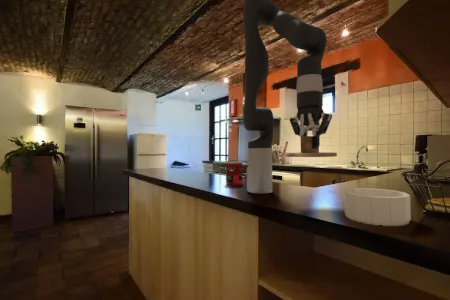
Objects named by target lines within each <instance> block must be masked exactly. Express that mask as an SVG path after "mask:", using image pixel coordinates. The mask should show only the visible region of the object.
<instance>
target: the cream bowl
mask: <svg viewBox="0 0 450 300" xmlns="http://www.w3.org/2000/svg"><path fill="white" fill-rule="evenodd" d="M343 204H344V205H343V208H344V209H343V210H344V216H346V217H345V218H346V219H348V218H349V220H351V221H352V222H353V221H354V222H356V221H357V222H358V223H360V222H361V223H362V224H366V225H371V224H372V226H379V225H382V227H403V226H406V225H409V224H410V221H412V220H411V219H412V218H411V216H412V215H411V214H412V213H411V195H410V194H408V193H407V192H404V191H399V190H394V189H384V188H367V187H363V188H361V187H360V188H357V187H356V188H348V189H344V190H343ZM361 223H360V224H361Z"/></svg>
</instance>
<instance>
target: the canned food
mask: <svg viewBox="0 0 450 300" xmlns="http://www.w3.org/2000/svg"><path fill="white" fill-rule="evenodd" d="M243 177H244V176H243V161H226V162H225V180H226V183H225V184H226V185H227V186H241V185H243V181H244V179H243Z"/></svg>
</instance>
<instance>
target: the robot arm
mask: <svg viewBox="0 0 450 300" xmlns="http://www.w3.org/2000/svg"><path fill="white" fill-rule="evenodd" d="M242 18H243V29H244V30H243V31H244V48H245V50H244V51H245V52H244V80H245V81H244V82H245V84H244V86H245V87H244V89H245V90H244V103H243V114H242V115H243V116H242V120H243V126H244V128H245V130H246V131H249V132H258V136H256V138H254V139H251V140H249V141H248V142H247V154H248V155H247V159H248V160H247V161H248V166H247V167H246V191H247V192H249V193H251V194H270V193H273V157H272V156H273V152H272V150H273V149H272V146H273V144H272V143H273V140H274V113H273V111H272V109H271V108H269V107H257V98H258V97H257V96H258V94H259V92H260V90H261V88H262V86H263V85H264V83H265V82H266V80H267V78H268V76H269V71H270V68H269V67H270V66H269V64H270V63H269V62H270V59H269V52H268V50H267V48H266V45H265V43H264V41H263V39H262V37H261V35H260V32H259V25H260V26H268V27H272V28H273V30H274V32H275V33H276V34H277V35H279V36H280V37H282V38H283V39H285V40H286V41H287V42H288V43H289V44H290V45H291V46H292V47H294V48H296V49H297V50H301V51H304V52H305V51H306V56H303V57H300V58H299V59H298V60H297V65H296V72H297V73H296V76H297V78H296V108H297V113H296V115H295V116H293V117H290V118H289V122H290V125H291V128H292V129H293V133H294V135H295V136H299V137H300V139H301V137H302V136H308V133H309V130H310V129H311V133H312V135H311V136H312V148H313V149H318V147H320V145H321V144H320V143H321V141H320V136H321V135H326V133H327V131H328V129H329V125H330V123H331V121H332V119H333V114H330V113H326V112H324V110H323V106H324V104H323V103H324V102H323V101H324V98H323V97H324V92H323V89H324V88H323V87H324V86H323V79H322V61H323V59H324V55H325V51H326V48H327V47H326V46H327V34H326V31H325V30H324V29H323V28H320V27H318V26H315V25H312V24H309V23H306V22H304V21H302V20H301V19H300V18H298V17H297V16H294V15H293V14H291V13H289V12H285V11H283V10H281V9H280V8H279V7H278V6H277V5H276V3H274V2H273V1H272V0H245V1H244V3H243V9H242ZM320 121H321V122H320Z"/></svg>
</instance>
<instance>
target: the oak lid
mask: <svg viewBox="0 0 450 300" xmlns="http://www.w3.org/2000/svg"><path fill="white" fill-rule="evenodd" d="M312 136H313V135H310V136H309V135H307V136H302V137H301V138H300V152H284V157H288V158H331V157H333V158H334V157H337V156H338V153H337V152H334V151H333V152H327V151H324V152H323V151H321V152H320V148H319V147H320V146H319V147H318V149H313V148H312Z"/></svg>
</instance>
